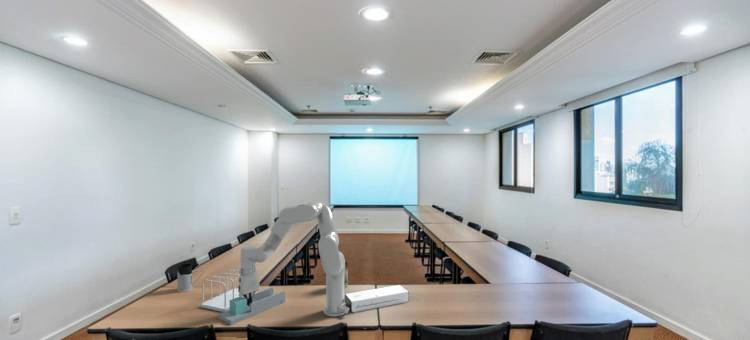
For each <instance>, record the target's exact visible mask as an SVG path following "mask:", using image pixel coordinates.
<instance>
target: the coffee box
mask: <svg viewBox="0 0 750 340" xmlns="http://www.w3.org/2000/svg"><path fill="white" fill-rule="evenodd" d="M348 265H349V264H348V261H347V260H345V270H344V289H346V288H348V287H349V279H348V278H349V277H348V276H349V273H348V272H349V271H348V270H349V269H348V268H349V267H348Z"/></svg>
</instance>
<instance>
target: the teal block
mask: <svg viewBox="0 0 750 340" xmlns="http://www.w3.org/2000/svg"><path fill="white" fill-rule="evenodd" d="M245 311H247V299H245V298H243V297H237V298H235V299H232V300H230V312H231V313H233V314H235V315H238V314H240V313H243V312H245Z"/></svg>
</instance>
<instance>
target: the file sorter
mask: <svg viewBox="0 0 750 340" xmlns="http://www.w3.org/2000/svg"><path fill="white" fill-rule="evenodd" d="M240 268H241V266H236V267H234V270H233V269H229V270H227V272H221V273H219V275H218V276H216V275H214V276H211V277H210V279H204V280H203V281H202V297H201V298H202V300H201V302H202V303H200V307H201V308H202V309H208V310H211V311H212V310H213V311H218V312H220V313H223V312H225V311H228V310H230V300H232V299H235V298H237V297H239V292H238V287H237V288H236V277H238V278H239V275H240V274H236V273H239V271H240V270H237V269H240ZM229 272H234V273H229ZM222 275H226V277H224V276H222ZM229 276H233V278H234V279H233V278H231V277H229ZM213 278H216V279H218V280H217V281H216V280H213ZM221 279H225V280H226V284H225V283H224V282H222V281H221ZM229 280H230V281H231V282H232V289H230V290H229ZM205 282H210V299H208V300H206V301H204V300H205ZM213 283H216V284H218V292H219V293H218V294H219V295H216V296H214V297H213V286H212V284H213ZM221 284H222V285H223V288H224V292H223V293H221ZM257 292H258V291H257ZM257 292H255V293H257Z"/></svg>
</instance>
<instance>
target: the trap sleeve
mask: <svg viewBox="0 0 750 340" xmlns="http://www.w3.org/2000/svg"><path fill="white" fill-rule="evenodd" d="M285 295H286V293H285V291H284V290H282V291H279V292H277V293H274V286H270V287H268V288H265V289H263V290H258V291H257V293H254V295H253V297H252V303H251V304H250V306H248V305H247V311H245V312H243V313H240V314H238V315H235V314H233V313H231V312H230V310H228V311H225V312H220V313H218V314H217V319H219V320H221V321H223V322H224V323H227V324H229V325H231V326H232V325H234V324H238V323H239V322H241V321H244V320H246V319H249V318H251V317H253V316H256V315H258V314H260V313H263V312H265V311H267V310H269V309H272V308H273V307H276V306H279V305H281V304H283V303H285V302H286V298H285ZM243 298H245V297H243Z"/></svg>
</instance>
